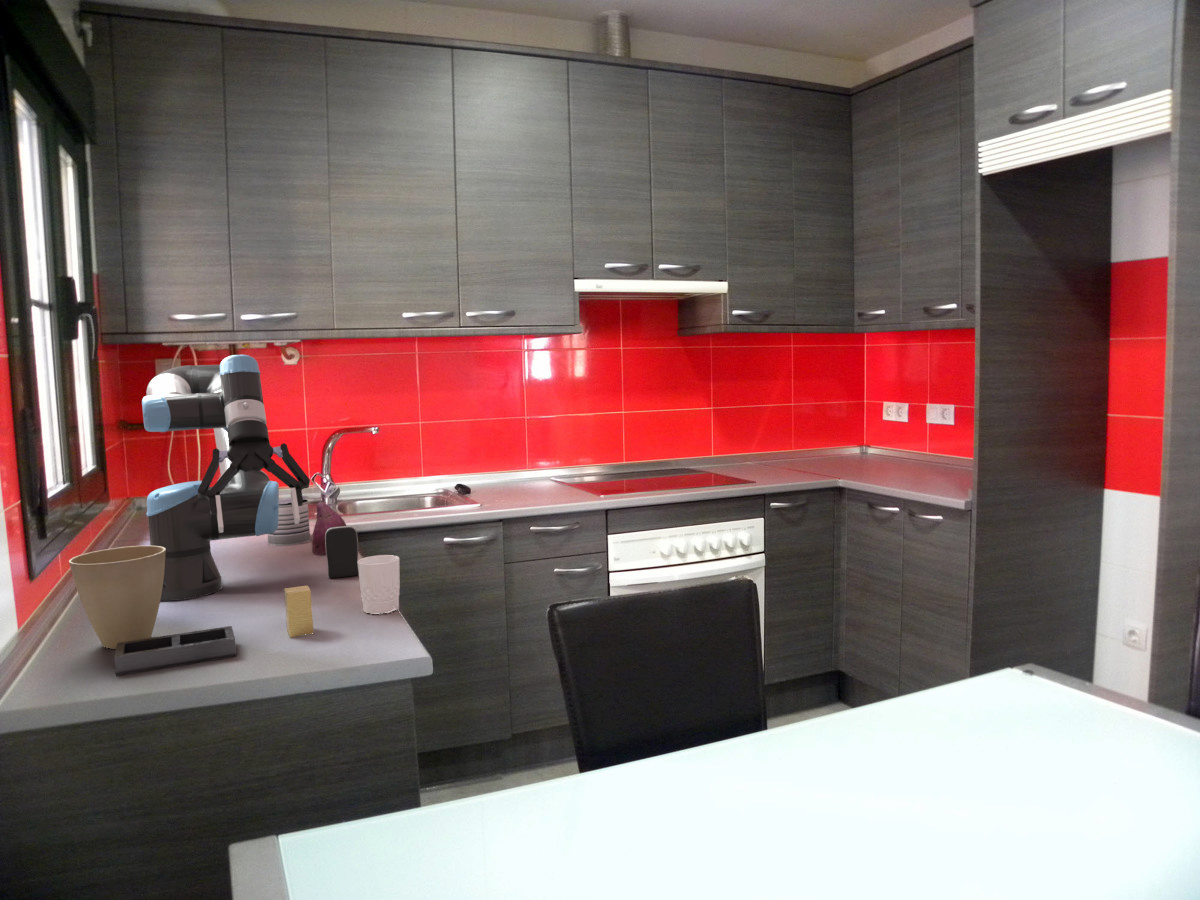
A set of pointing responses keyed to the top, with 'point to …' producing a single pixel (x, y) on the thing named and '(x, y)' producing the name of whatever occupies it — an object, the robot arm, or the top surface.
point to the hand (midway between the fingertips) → (259, 525)
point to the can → (291, 525)
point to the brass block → (298, 611)
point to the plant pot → (120, 591)
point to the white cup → (379, 583)
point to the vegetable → (324, 526)
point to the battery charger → (341, 551)
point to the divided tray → (174, 650)
